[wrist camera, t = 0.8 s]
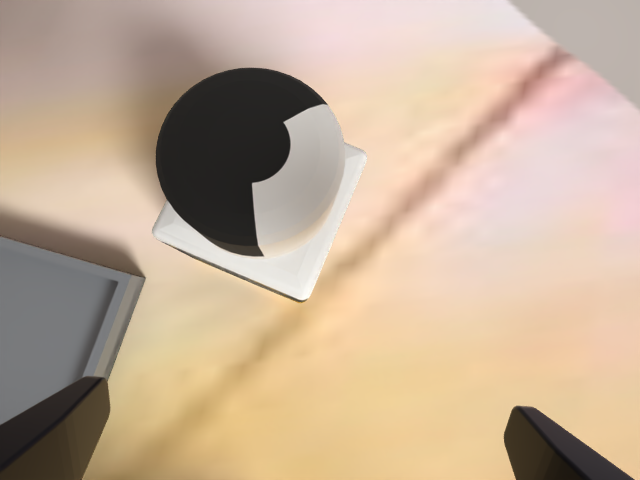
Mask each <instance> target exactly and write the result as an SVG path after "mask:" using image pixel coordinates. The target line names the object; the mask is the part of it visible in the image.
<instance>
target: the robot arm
mask: <svg viewBox="0 0 640 480" xmlns="http://www.w3.org/2000/svg"><path fill="white" fill-rule="evenodd" d="M109 413H110V400H109V391H108V383H107V380H106V378H104V377H99V376H85V377H82V378H81V379H79V380H77V381H75V382H74V383H72V384H70V385H68V386H67V387H65V388H63V389H61V390H60V391H58V392H56V393H55V394H53V395H51V396H49V397H48V398H46V399H44V400H42V401H41V402H39V403H37V404H35V405H34V406H32V407H30V408H28V409H27V410H25V411H23V412H22V413H20V414H18V415H16V416H15V417H13V418H11V419H9V420H8V421H6V422H4V423H2V424H1V425H0V480H82V478H83V475H84V473H85V471H86V468H87V466H88V464H89V461H90V459H91V457H92V455H93V452H94V450H95V448H96V445H97V443H98V441H99V438H100V436H101V434H102V431H103V429H104V427H105V424H106V422H107V420H108V417H109ZM504 443H505V447H506V450H507V453H508V456H509V460H510V463H511V466H512V469H513V472H514V475H515V478H516V480H634V479H633V478H632V477H630V476H629V475H628V474H626V473H625V472H623V471H622V470H621V469H619V468H618V467H616V466H615V465H614V464H612V463H611V462H609V461H608V460H607V459H605V458H604V457H603V456H601V455H600V454H598V453H597V452H596V451H594V450H593V449H591V448H590V447H589V446H587V445H586V444H584V443H583V442H582V441H580V440H579V439H578V438H576V437H575V436H573V435H572V434H571V433H569V432H568V431H566V430H565V429H564V428H562V427H561V426H560V425H558V424H557V423H555V422H554V421H553V420H551V419H550V418H548V417H547V416H546V415H544V414H543V413H541V412H540V411H539V410H537V409H536V408H534V407H529V406H515V407H514V408H513V409H512V411H511V414H510V417H509V420H508V423H507V426H506V429H505V432H504Z"/></svg>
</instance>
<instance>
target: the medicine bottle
mask: <svg viewBox="0 0 640 480" xmlns="http://www.w3.org/2000/svg"><path fill="white" fill-rule="evenodd" d="M366 161H367V155H366V153H365V152H364V151H363V150H361V149H359V148H357V147H354V146H352V145H349V144H347V143H345V142H344V139H343V135H342V132H341V128H340V126H339V123H338V121H337V119H336V117H335V115H334V113H333V112H332V110H331V109H330V107H329V106H328V104H327V103H326V102H325V101H324V100H323V99H322V97H321V96H320V95H319V94H317V93H316V92H315V91H314V90H313V89H312V88H311V87H309V86H308V85H306V84H305V83H303V82H302V81H300V80H298V79H296V78H294V77H292V76H290V75H287V74H284V73H281V72H278V71H274V70H269V69H262V68H239V69H233V70H228V71H224V72H221V73H218V74H215V75H213V76H211V77H208V78H206V79H204V80H202V81H201V82H199V83H198V84H196V85H194V86H193V87H192V88H190V89H189V90H188V91H187V92H186V93H184V94H183V95H182V96H181V97H180V99H179V100H178V101H177V102H176V103H175V104H174V106H173V107H172V108H171V110H170V111H169V113H168V114H167V116H166V118H165V120H164V122H163V124H162V127H161V130H160V133H159V136H158V141H157V147H156V167H157V174H158V178H159V182H160V185H161V188H162V190H163V192H164V194H165V196H166V199H167V201H166V203H165V205H164V207H163V209H162V211H161V213H160V215H159V216H158V218H157V220H156V222H155V224H154V226H153V229H152V233H153V236H154V237H155V238H156V239H157V240H159V241H161V242H163V243H165V244H167V245H169V246H171V247H173V248H175V249H177V250H179V251H181V252H183V253H185V254H186V255H188V256H190V257H192V258H194V259H196V260H199V261H201V262H203V263H206V264H208V265H210V266H213V267H215V268H218V269H220V270H222V271H225V272H227V273H229V274H232V275H234V276H236V277H239V278H241V279H243V280H246V281H248V282H251V283H253V284H255V285H258V286H260V287H262V288H265V289H267V290H269V291H272V292H274V293H276V294H279V295H281V296H284V297H286V298H288V299H291V300H293V301H295V302H298V303H303V302H305V301H306V300H307V299H308V298H309V296H310V295H311V293H312V291H313V288H314V286H315V283H316V281H317V279H318V276H319V274H320V271H321V269H322V267H323V264H324V262H325V259H326V257H327V255H328V252H329V250H330V247H331V245H332V243H333V240H334V238H335V235H336V233H337V231H338V228H339V226H340V224H341V221H342V219H343V216H344V214H345V212H346V209H347V207H348V204H349V202H350V200H351V197H352V195H353V192H354V190H355V188H356V185H357V183H358V180H359V178H360V176H361V173H362V171H363V168H364V166H365V164H366Z"/></svg>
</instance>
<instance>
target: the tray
mask: <svg viewBox="0 0 640 480" xmlns="http://www.w3.org/2000/svg"><path fill="white" fill-rule="evenodd" d="M145 279H146V278H143V277H140V276H136V275H133V274H129V273H126V272H122V271H119V270H116V269H112V268H109V267H105V266H102V265H99V264H95V263H92V262H88V261H85V260H81V259H78V258H75V257H71V256H68V255H64V254H61V253H57V252H54V251H51V250H47V249H44V248H40V247H37V246H34V245H30V244H27V243H23V242H20V241H16V240H13V239H10V238H6V237H3V236H0V425H1V424H2V423H4V422H6V421H8V420H9V419H11V418H13V417H15V416H16V415H18V414H20V413H22V412H23V411H25V410H27V409H28V408H30V407H32V406H34V405H35V404H37V403H39V402H41V401H42V400H44V399H46V398H48V397H49V396H51V395H53V394H55V393H56V392H58V391H60V390H61V389H63V388H65V387H67V386H68V385H70V384H72V383H74V382H75V381H77V380H79V379H81V378H82V377H85V376H99V377H104V378H106V380H107V381H108V378H109V376H110V373H111V370H112V368H113V365H114V362H115V360H116V357H117V354H118V352H119V349H120V346H121V343H122V341H123V338H124V335H125V333H126V330H127V327H128V325H129V322H130V319H131V316H132V314H133V311H134V308H135V306H136V303H137V300H138V298H139V295H140V292H141V289H142V287H143V284H144V281H145Z"/></svg>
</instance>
